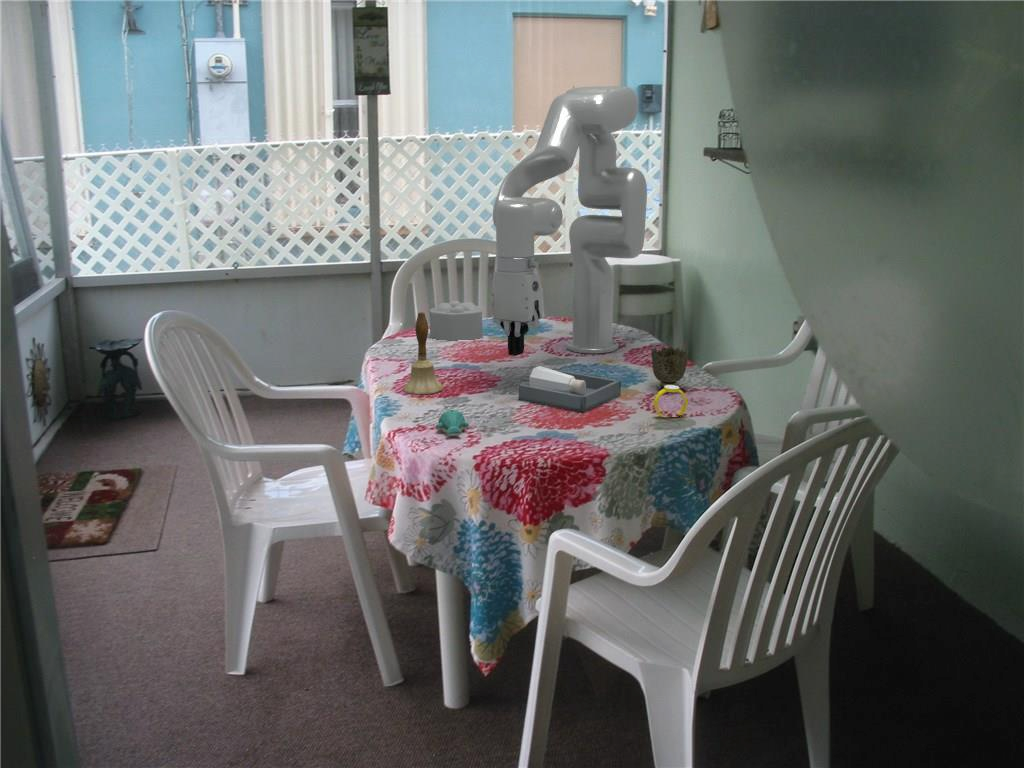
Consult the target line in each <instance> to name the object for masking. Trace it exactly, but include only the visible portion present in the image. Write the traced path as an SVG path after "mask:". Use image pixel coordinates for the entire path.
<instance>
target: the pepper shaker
mask: <svg viewBox="0 0 1024 768" xmlns="http://www.w3.org/2000/svg"><path fill="white" fill-rule="evenodd" d="M528 379H529V380H528V381H529V383H528V384H529V385H528V386H533V387H539V388H544V389H549V390H554V391H560V392H565V393H570V394H572V393H573V392H575V393H579V394H583V393H584V392H585V389H586V383H585V381H584V380H576V379H575V378H574V376H571V375H568V374H565V373H561V372H558V371H556V370H554V369H551V368H548V367H544V366H541V365H539V366H536V367H533V369H532V371H531V373H530V375H529V378H528Z"/></svg>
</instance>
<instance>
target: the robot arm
mask: <svg viewBox="0 0 1024 768" xmlns="http://www.w3.org/2000/svg"><path fill="white" fill-rule="evenodd" d="M638 112H639V99H638V95H637V94H636V91H635V90H634V89H633V88H631V87H629V86H625V85H622V86H621V85H619V86H618V85H617V86H581V87H579V86H578V87H575V88H571V89H568V90H567V91H565V92H564V93H563V94H560V95H557V96H556V97H555V98H554V99H553V100H552V102H551V104H550V106H549V109H548V111H547V114H546V117H545V120H544V122H543V126H542V128H541V130H540V135H539V137H538V139H537V142H536V145H535V148H534V150H533V151H532V152H531V153H529V155H527V156H526V157H524V158H523V159H521V160H520V161H519V162H518V163H517V164H516V165H515V166H514V167H513V168H512V169H511V170H510V171H509V172H508V173H507V174H506V175H505V176H504V178H503V179H502V181H501V185H500V187H499V190H498V191H497V192H498V193H497V195H496V198H495V201H494V204H493V209H492V223H493V225H494V226H495V237H496V239H495V240H496V242H495V243H496V247H495V248H496V249H495V251H496V252H495V253H496V270H494V271H493V275H492V282H491V283H492V284H491V293H490V294H491V296H490V313H491V316H492V323H494V324H495V325H497V326H500V327H501V328H502V329H503V330H504V334H505V336H507V353H508V356H513V357H517V356H520V355H523V354H524V353H525V351H524V350H525V336H526V335H527V333H528V331H530V330H535V329H537V328H540V319H542V318H543V310H544V309H543V308H544V307H543V293H542V286H541V280H540V275H539V271H535V269H537V268H539V267H540V266H539V265H540V262H539V261H538V260H535V259H536V258H535V236H537V237H538V236H542V237H547V236H551V235H554V233H556V232H557V231H558V230H559V229H560V228H561V226H562V223H563V210H562V208H561V206H560V205H559V203H558V202H557V201H555V200H553V199H551V198H545V197H544V198H543V197H528V196H526V197H525V196H524V197H523V195H524V194H526V193H527V192H528V191H529V190H530V189H531V188H533V187H534V186H536V185H538V184H541V183H542V182H545V181H548V180H551V179H552V178H555V177H558V176H560V175H562V174H564V173H566V172H567V171H569V170H570V169H571V168H572V167H573V165H574V161H575V159H576V156H577V152H578V153H579V154H578V157H579V158H578V174H577V175H578V177H577V178H578V179H577V196H578V201H579V203H580V205H581V206H583V207H585V208H587V209H593V210H595V209H596V210H611V211H620V212H621V215H607V214H606V215H604V214H603V215H602V214H600V215H599V214H585V215H580V216H579V217H577V218H575V219H574V220H573V221H572V223H571V225H570V227H569V232H568V237H569V238H568V239H569V244H570V250H571V258H572V339H569V340H567V341H566V342H565V348H566V349H567V350H569V351H572V352H575V353H581V354H606V353H610V352H615V351H616V350H618V349H619V342H617V341H616V340H614V339H613V336H614V335H617V334H619V333H620V328H619V327H618V326H616V325H615V326H613V316H614V315H613V311H614V309H613V308H614V306H613V305H614V274H613V270H612V268H611V266H610V264H609V262H608V261H607V259H606V258H610V259H611V258H612V259H613V258H614V259H635V258H637V257H638V256H640V254H641V253H642V251H643V249H644V244H645V237H646V233H645V232H646V221H647V219H646V218H647V205H648V204H647V201H648V200H647V199H648V184H647V180H646V177H645V175H644V174H643V172H642V171H641V170H640V169H638V168H635V167H624V166H623V167H619V166H617V150H618V148H617V147H618V146H617V142H616V140H615V138H614V136H613V133H616V132H619V131H620V130H623V129H625V128H628V127H629V126H630V125H632V124H633V123H634V121H635V120H636V118H637V117H638V116H637V115H638ZM578 150H579V151H578Z"/></svg>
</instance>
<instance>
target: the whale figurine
mask: <svg viewBox="0 0 1024 768" xmlns="http://www.w3.org/2000/svg"><path fill="white" fill-rule="evenodd" d="M438 418H439V419H438V423H437V424H436V425H435V426H436V427H435V429H436V430H437V431H441V430H442V431H441V432H443V431H444V432H445V435H446V436H448V437H458V436H461V435H462V433H463V432H462V431H463V430H465V429H468V428H469V427H470V424H469V422H467V421H466V419H465V416H464V415H463V414H462V413H461V412H460V411H458V410H456V409H449V410H446V411H444V412H443V413H442V414H441V415H440V417H438ZM444 432H443V433H444Z"/></svg>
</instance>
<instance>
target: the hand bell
mask: <svg viewBox="0 0 1024 768" xmlns="http://www.w3.org/2000/svg"><path fill="white" fill-rule="evenodd" d="M416 317H417V318H416V321H415V329H414V330H415V336H416V340H417V347H418V350H417V351H418V354H417V355H418V356H417V360H416V361H415V362H413V363H412V364H411V368H410V376H409V379H408V381H407V383H406V384H405V385H404V386H403V388H402V390H403V392H404V393H406V394H411V395H412V394H413V395H431V394H436V393H440V392H442V391H443V390H444V389H443V388H445V387H444V385H443V384H442V383H441V382H440V381H439V379H438V378H437V375H436V372H435V365H434V363H433V362H431V361H429V360H427V354H428V353H427V339H428V335H429V324H428V320H427V317H426V314H425V312H423V311H422V312H421V311H420V312H418V313H417V316H416ZM439 391H440V392H439Z"/></svg>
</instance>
